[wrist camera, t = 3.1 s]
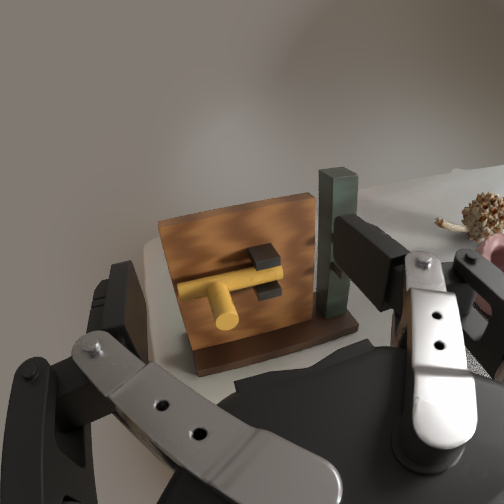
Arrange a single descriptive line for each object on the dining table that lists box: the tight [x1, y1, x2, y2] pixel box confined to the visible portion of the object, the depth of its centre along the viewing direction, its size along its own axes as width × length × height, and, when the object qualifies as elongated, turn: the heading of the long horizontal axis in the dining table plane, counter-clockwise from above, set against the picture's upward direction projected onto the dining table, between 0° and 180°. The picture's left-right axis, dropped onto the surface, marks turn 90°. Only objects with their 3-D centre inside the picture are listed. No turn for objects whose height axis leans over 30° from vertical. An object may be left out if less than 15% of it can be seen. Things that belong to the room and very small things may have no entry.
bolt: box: [177, 266, 283, 330], centre depth 28 cm, size 10×6×2 cm, turn 106°
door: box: [158, 167, 359, 377], centre depth 34 cm, size 20×8×19 cm, turn 106°
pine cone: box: [434, 192, 504, 244], centre depth 49 cm, size 22×10×10 cm, turn 102°
